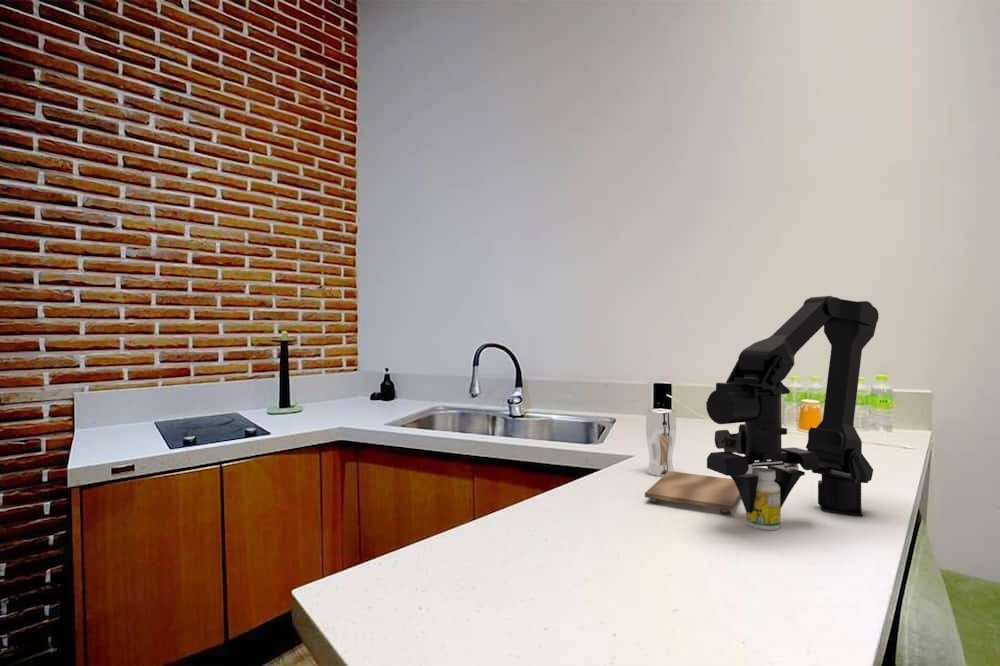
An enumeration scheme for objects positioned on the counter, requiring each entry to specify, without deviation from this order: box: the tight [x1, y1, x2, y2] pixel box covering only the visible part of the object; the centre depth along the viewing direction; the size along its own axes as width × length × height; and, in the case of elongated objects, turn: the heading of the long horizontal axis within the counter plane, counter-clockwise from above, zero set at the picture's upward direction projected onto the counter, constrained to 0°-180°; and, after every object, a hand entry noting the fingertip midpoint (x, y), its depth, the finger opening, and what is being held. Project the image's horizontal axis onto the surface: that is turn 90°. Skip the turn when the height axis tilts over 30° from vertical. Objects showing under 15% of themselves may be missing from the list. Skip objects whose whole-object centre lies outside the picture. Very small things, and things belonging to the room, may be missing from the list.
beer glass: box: [645, 408, 677, 477], centre depth 129 cm, size 7×7×15 cm
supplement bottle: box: [745, 467, 782, 531], centre depth 93 cm, size 5×5×10 cm
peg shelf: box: [644, 471, 741, 516], centre depth 110 cm, size 16×20×2 cm
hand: (762, 510), depth 93 cm, fingers closed on supplement bottle, 5 cm apart
